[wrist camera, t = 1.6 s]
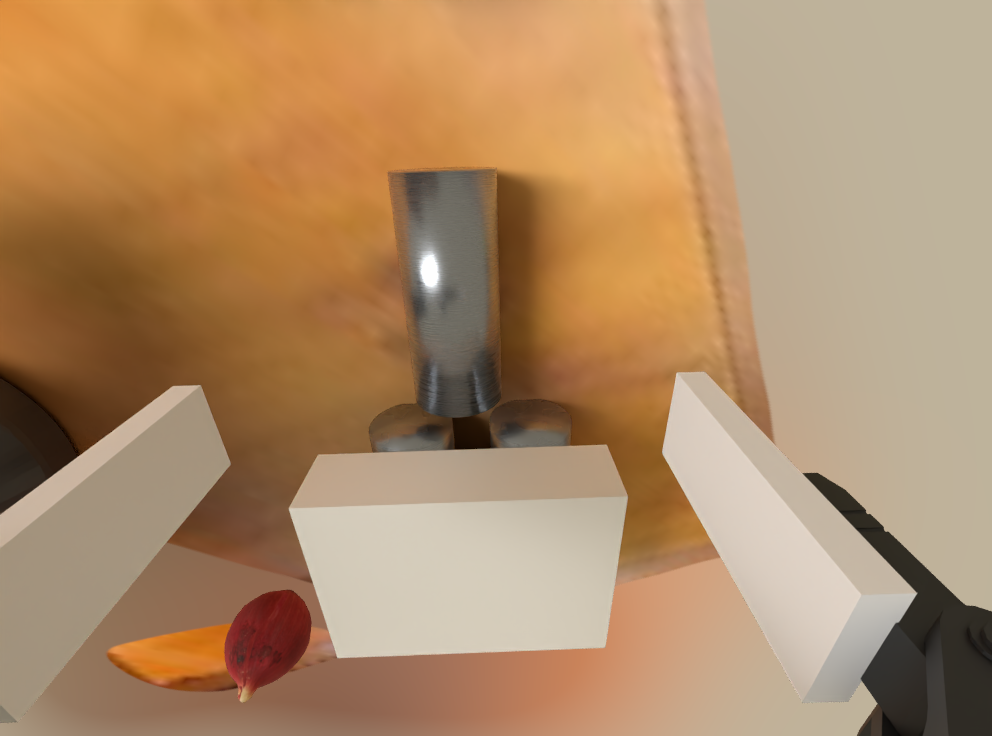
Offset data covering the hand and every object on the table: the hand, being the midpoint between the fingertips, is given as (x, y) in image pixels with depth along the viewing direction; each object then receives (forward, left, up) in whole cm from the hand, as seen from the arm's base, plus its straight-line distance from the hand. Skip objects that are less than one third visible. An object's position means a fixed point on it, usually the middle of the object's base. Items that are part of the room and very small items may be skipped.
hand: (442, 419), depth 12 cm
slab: (0, -14, -9) cm, 17 cm away
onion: (-16, -26, -14) cm, 34 cm away
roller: (0, 0, -14) cm, 14 cm away
